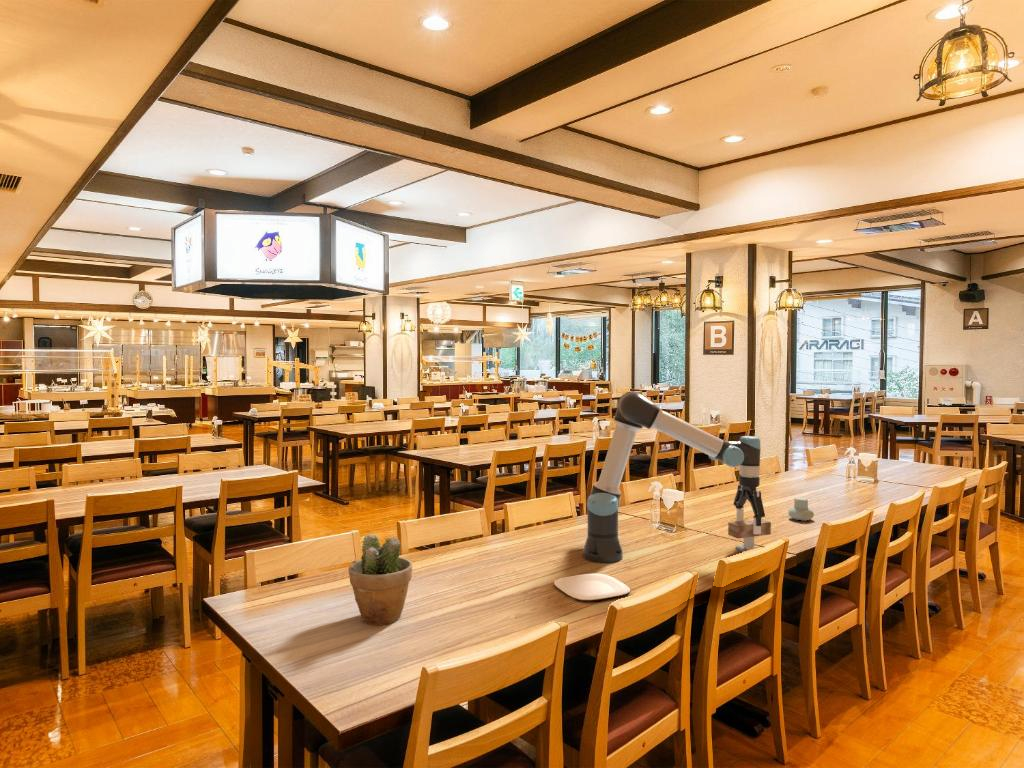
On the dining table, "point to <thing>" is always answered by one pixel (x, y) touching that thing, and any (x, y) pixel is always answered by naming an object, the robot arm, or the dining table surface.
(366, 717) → the dining table surface
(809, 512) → the air freshener
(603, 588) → the plate
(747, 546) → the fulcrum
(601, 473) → the robot arm
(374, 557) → the potted plant
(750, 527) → the beam
